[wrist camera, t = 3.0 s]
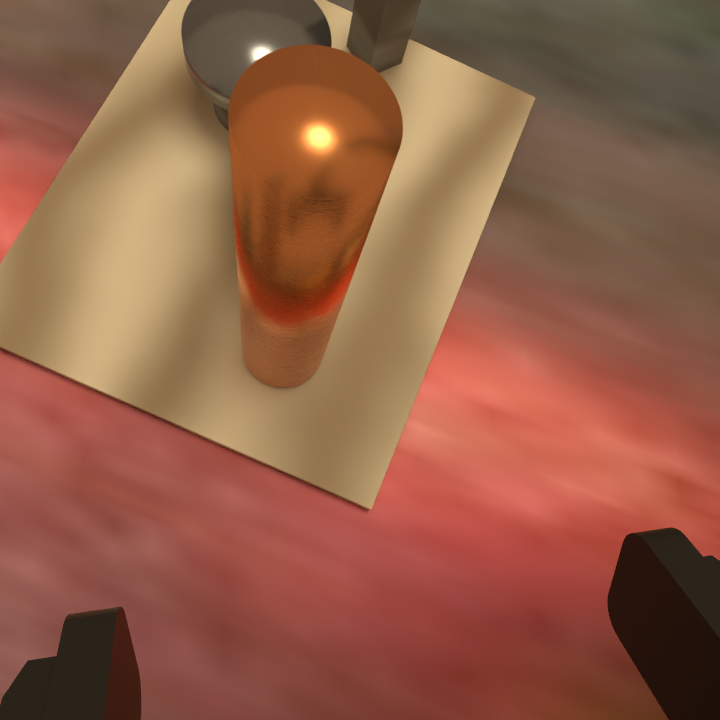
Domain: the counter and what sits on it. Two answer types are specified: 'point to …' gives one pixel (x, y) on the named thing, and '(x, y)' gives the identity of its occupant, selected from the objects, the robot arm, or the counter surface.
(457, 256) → the hub board
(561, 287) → the counter surface
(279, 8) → the lever
